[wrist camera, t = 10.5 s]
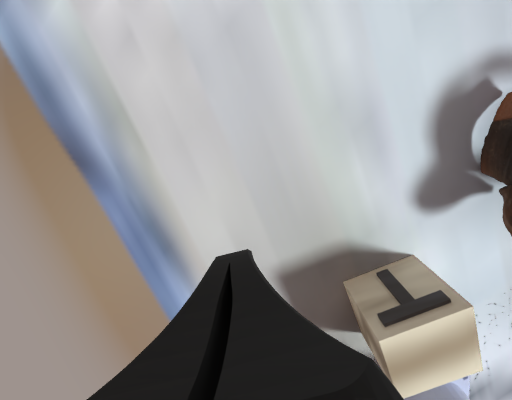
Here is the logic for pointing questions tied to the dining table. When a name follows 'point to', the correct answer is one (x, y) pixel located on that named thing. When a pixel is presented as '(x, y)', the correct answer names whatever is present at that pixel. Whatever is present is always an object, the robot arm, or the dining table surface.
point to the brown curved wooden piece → (500, 155)
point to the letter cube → (415, 325)
